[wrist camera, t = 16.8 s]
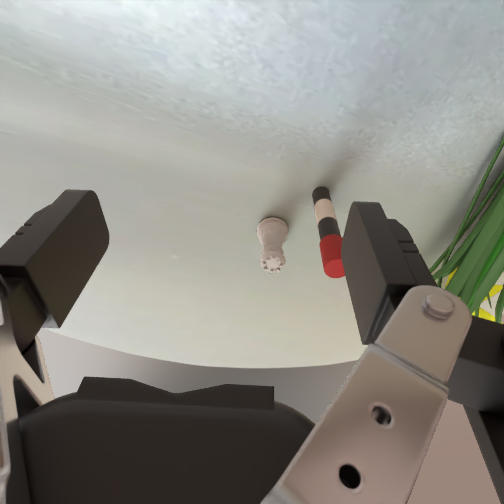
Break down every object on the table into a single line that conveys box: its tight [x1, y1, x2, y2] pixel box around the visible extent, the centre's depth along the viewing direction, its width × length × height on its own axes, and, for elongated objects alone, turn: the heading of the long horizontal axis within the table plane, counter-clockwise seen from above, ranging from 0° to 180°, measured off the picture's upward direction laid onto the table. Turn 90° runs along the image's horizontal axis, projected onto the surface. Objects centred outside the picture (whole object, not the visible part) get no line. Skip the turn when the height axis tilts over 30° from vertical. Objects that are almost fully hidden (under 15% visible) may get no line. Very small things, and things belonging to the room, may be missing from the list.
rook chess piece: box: [257, 217, 288, 273], centre depth 45 cm, size 4×4×8 cm
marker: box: [312, 187, 345, 278], centre depth 38 cm, size 3×3×14 cm
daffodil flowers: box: [429, 137, 504, 324], centre depth 42 cm, size 17×15×35 cm
